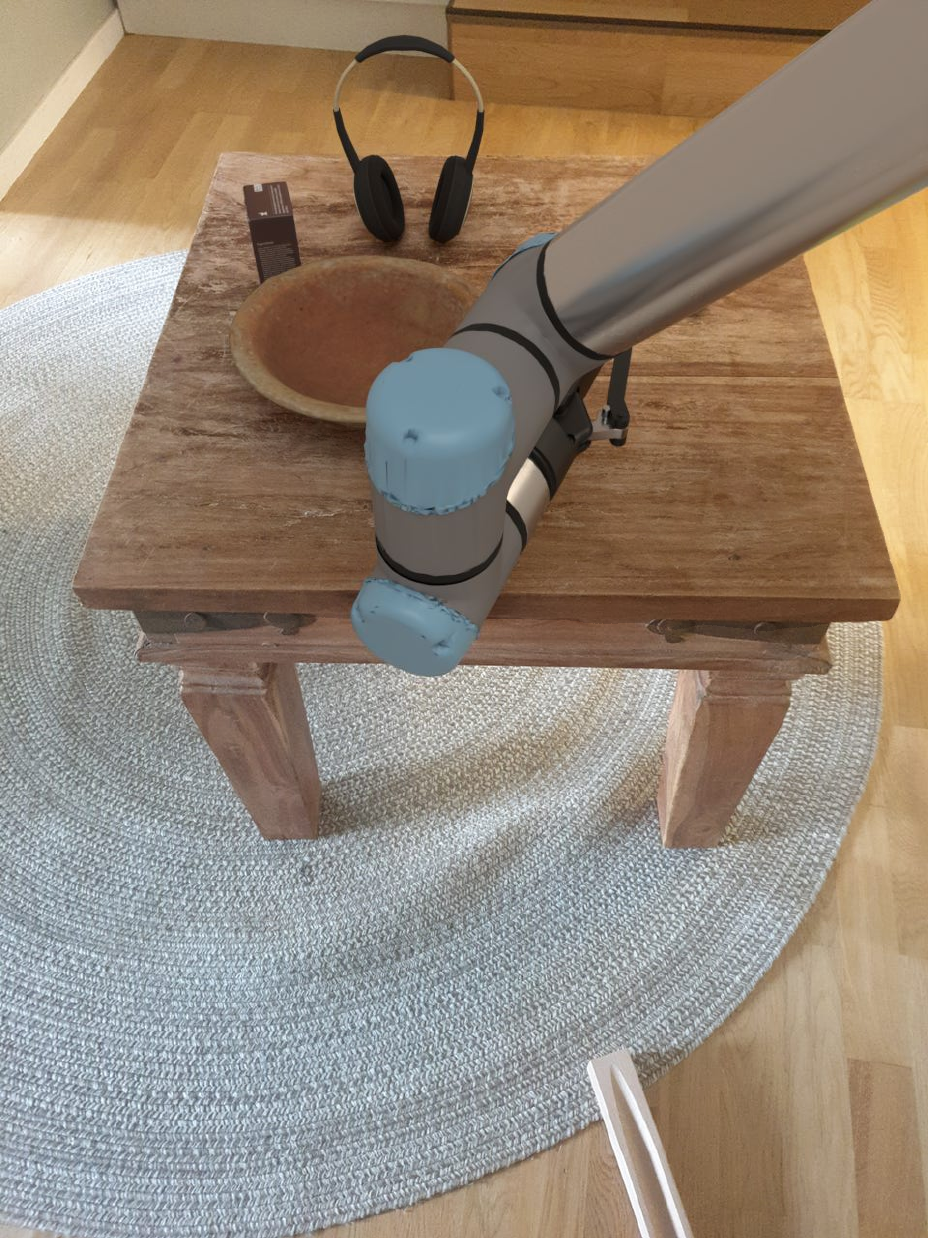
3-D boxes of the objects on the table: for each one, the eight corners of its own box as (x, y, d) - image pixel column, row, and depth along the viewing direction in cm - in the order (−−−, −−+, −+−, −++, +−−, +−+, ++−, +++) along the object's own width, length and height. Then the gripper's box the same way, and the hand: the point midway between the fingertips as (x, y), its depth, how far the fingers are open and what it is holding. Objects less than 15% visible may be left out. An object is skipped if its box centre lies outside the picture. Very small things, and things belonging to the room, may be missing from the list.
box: (314, 325, 92) (293, 213, 82) (269, 332, 92) (243, 221, 82) (307, 289, 96) (286, 177, 86) (263, 295, 95) (237, 184, 85)
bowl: (526, 463, 81) (530, 393, 75) (255, 504, 79) (234, 436, 72) (475, 298, 94) (474, 226, 88) (242, 330, 92) (223, 259, 86)
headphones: (483, 260, 98) (482, 59, 81) (345, 258, 99) (316, 58, 82) (486, 214, 103) (486, 15, 86) (354, 212, 103) (329, 15, 87)
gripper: (421, 485, 68) (544, 300, 80) (587, 541, 64) (690, 339, 76) (413, 408, 62) (548, 220, 74) (597, 465, 58) (707, 258, 70)
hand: (621, 281), depth 75 cm, fingers closed
